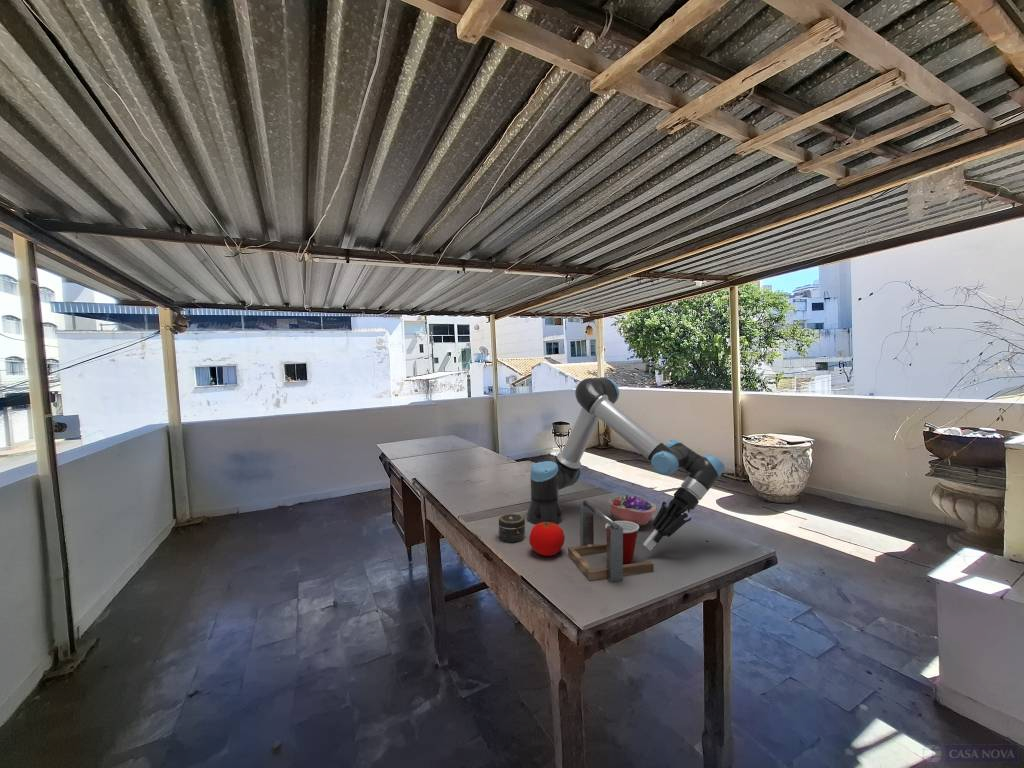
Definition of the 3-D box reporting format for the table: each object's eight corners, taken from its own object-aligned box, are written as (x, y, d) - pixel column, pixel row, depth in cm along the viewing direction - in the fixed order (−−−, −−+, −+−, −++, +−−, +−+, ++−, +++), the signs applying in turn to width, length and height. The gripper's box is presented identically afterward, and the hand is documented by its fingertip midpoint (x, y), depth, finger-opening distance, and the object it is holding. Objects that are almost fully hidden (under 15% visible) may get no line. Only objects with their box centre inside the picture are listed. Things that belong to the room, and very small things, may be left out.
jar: (507, 545, 140) (507, 525, 140) (494, 536, 149) (493, 516, 148) (530, 539, 145) (530, 519, 145) (515, 530, 154) (515, 511, 154)
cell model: (626, 511, 173) (626, 486, 172) (665, 526, 156) (665, 498, 156) (599, 520, 164) (599, 493, 163) (638, 536, 147) (637, 506, 146)
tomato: (523, 553, 134) (523, 523, 134) (545, 542, 143) (544, 513, 142) (549, 564, 126) (549, 532, 126) (570, 551, 135) (570, 521, 135)
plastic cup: (616, 550, 136) (616, 516, 135) (645, 560, 128) (645, 524, 128) (598, 561, 128) (598, 525, 128) (628, 572, 120) (628, 534, 120)
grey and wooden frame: (565, 551, 135) (564, 502, 135) (621, 544, 140) (621, 496, 140) (593, 585, 113) (592, 527, 113) (658, 575, 118) (658, 519, 118)
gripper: (710, 507, 127) (665, 563, 124) (683, 495, 140) (642, 546, 137) (696, 492, 126) (650, 549, 123) (670, 481, 139) (629, 532, 135)
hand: (646, 547), depth 130 cm, fingers closed
